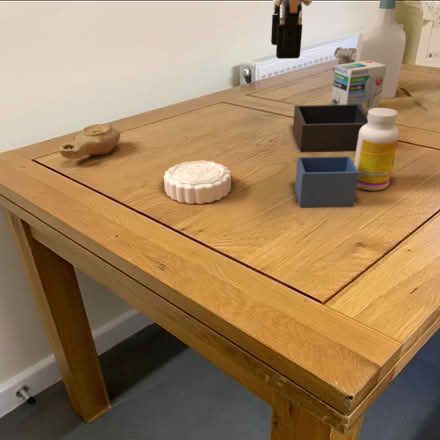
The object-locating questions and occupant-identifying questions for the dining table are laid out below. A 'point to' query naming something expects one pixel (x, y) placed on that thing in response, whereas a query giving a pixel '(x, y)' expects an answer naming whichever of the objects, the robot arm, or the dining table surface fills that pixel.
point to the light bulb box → (358, 84)
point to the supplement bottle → (376, 149)
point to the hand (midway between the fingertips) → (284, 50)
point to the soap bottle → (384, 46)
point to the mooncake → (197, 182)
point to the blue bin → (326, 181)
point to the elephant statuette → (345, 55)
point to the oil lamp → (91, 141)
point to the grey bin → (328, 127)
